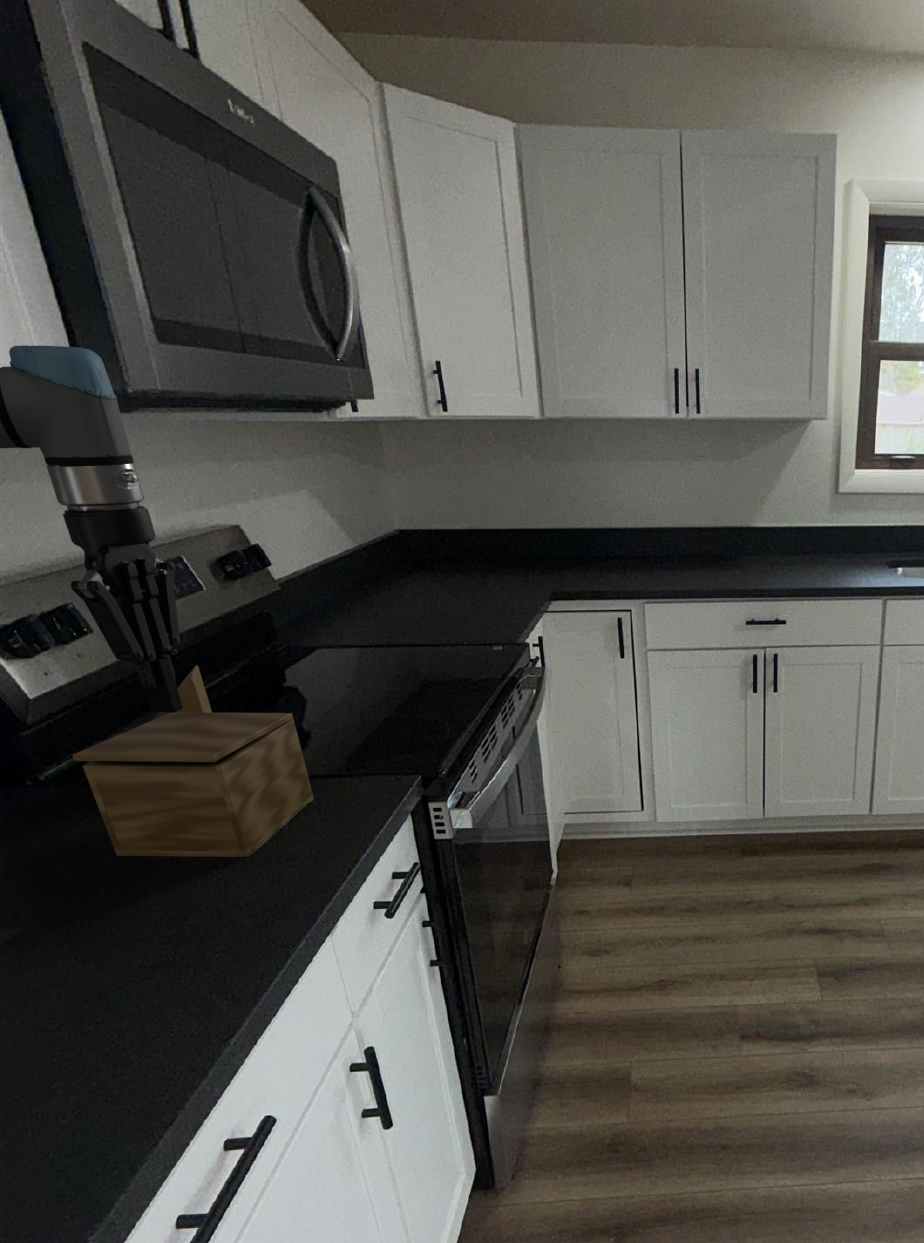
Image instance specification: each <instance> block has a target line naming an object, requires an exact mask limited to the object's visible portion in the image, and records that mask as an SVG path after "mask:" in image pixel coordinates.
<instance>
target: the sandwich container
mask: <svg viewBox="0 0 924 1243" xmlns="http://www.w3.org/2000/svg"><path fill="white" fill-rule="evenodd" d="M200 670H201V669H200V667H199V665H197V664H196V665H195V666H194V667H193V669H192V670H191V671H190V672H189V673H188V674H187V676H186V677H185V678H184V679H183V680H182V681H181V683H180V684H179V685H178V686H177V689H178V692H179V696H180V699H181V702H182V706H183V709H181V710H179V711H177V712H189V713H213V711H212V709H211V708H212V707H211V703H210V700H209V697H208V694H207V691H206V688H205V684H204V680H203V677H202V674H201V671H200ZM166 714H169V713H167V712H157V713H156V715H155V716H154V717H153V719H152V720H155V719H157V718H159V717H162V716H164V715H166Z"/></svg>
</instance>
